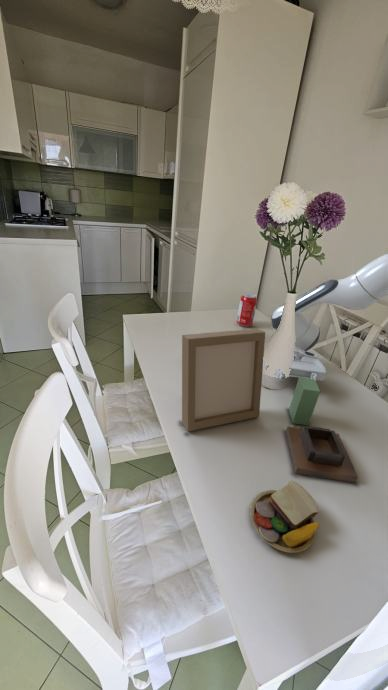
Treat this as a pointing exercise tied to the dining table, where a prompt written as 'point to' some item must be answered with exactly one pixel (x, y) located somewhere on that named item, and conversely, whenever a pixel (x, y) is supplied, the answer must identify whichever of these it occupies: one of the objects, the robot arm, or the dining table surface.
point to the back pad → (304, 401)
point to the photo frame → (221, 377)
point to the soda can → (247, 309)
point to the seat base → (319, 453)
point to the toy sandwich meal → (285, 517)
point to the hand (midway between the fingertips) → (297, 380)
